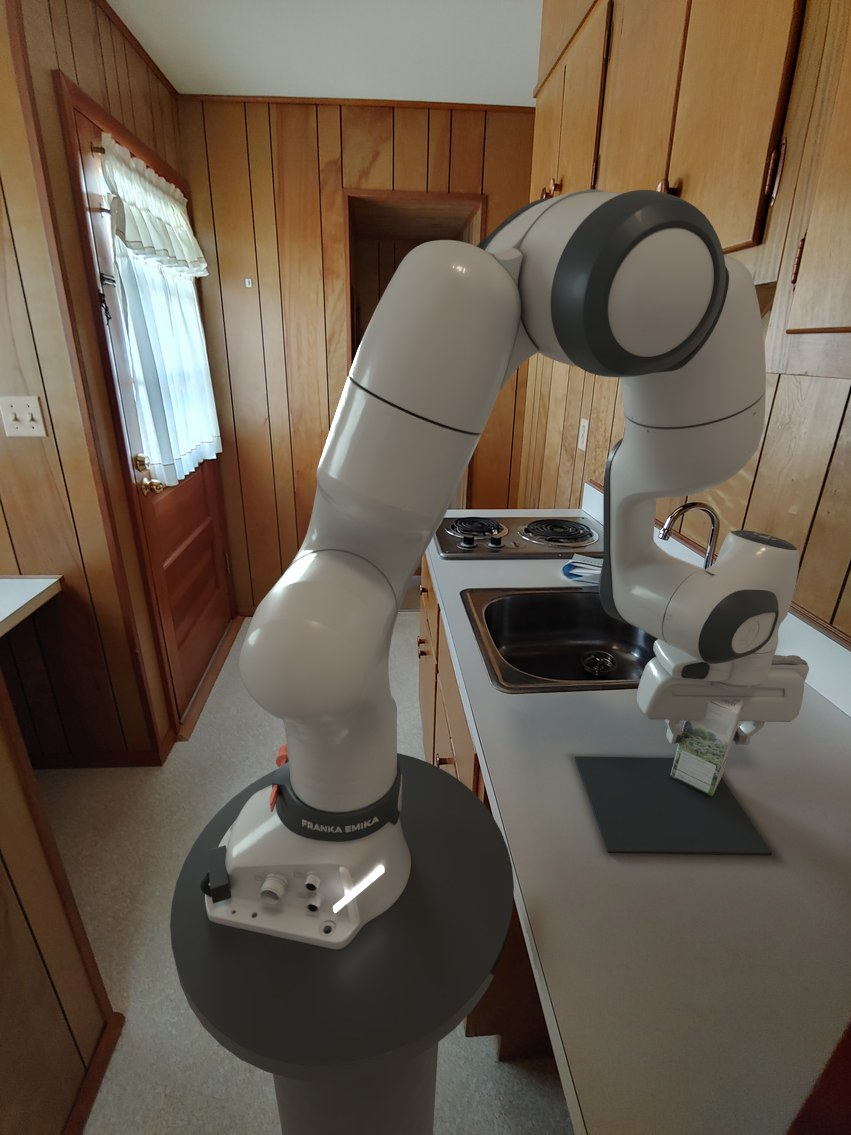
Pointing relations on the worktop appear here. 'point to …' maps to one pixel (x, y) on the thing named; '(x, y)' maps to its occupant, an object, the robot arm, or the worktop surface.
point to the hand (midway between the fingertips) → (705, 741)
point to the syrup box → (707, 746)
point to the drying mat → (664, 810)
